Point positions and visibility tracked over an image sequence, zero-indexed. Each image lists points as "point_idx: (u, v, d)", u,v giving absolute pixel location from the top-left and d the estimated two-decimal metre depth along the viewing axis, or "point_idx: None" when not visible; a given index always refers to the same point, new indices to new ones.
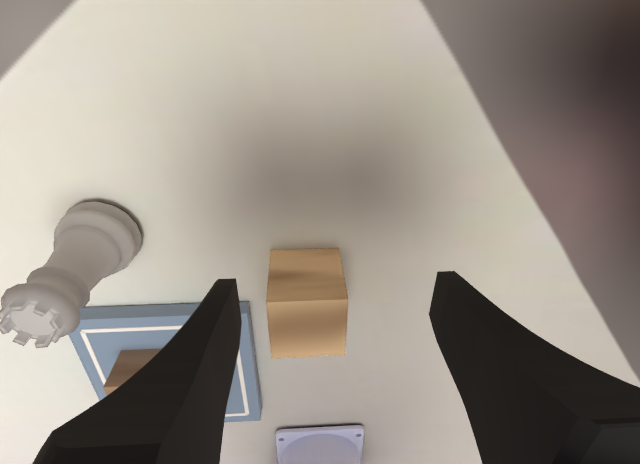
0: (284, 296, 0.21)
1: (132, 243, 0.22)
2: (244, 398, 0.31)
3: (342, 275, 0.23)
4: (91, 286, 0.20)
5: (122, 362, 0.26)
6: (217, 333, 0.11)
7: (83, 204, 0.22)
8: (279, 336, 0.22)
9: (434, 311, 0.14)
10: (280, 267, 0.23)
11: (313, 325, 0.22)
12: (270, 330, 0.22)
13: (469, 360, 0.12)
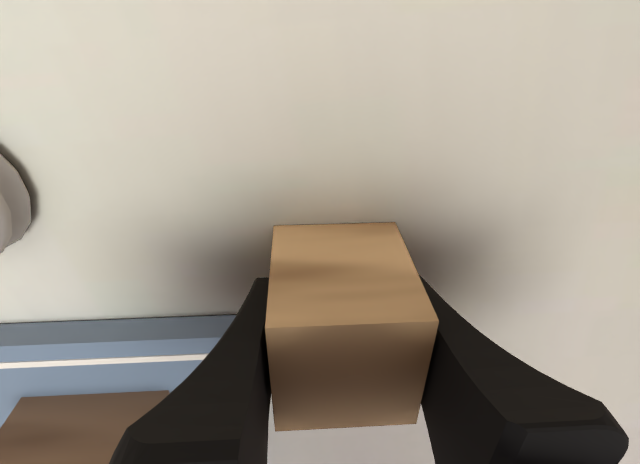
0: (303, 315, 0.10)
1: (1, 206, 0.11)
2: None
3: (414, 271, 0.12)
4: None
5: (17, 421, 0.15)
6: None
7: None
8: (291, 393, 0.11)
9: None
10: (291, 257, 0.12)
11: (360, 372, 0.11)
12: (273, 382, 0.11)
13: None
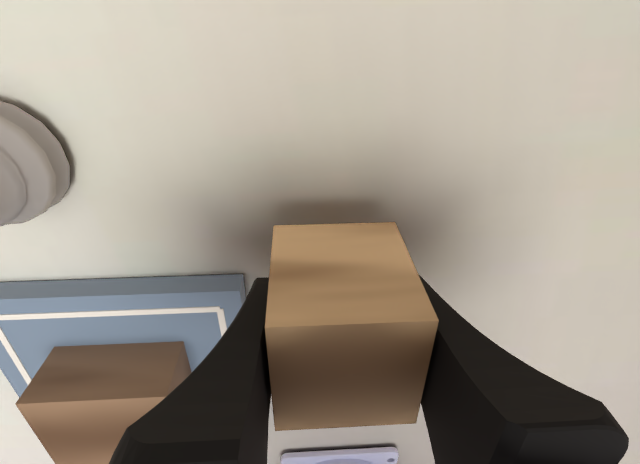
0: (303, 314, 0.10)
1: (48, 169, 0.13)
2: None
3: (414, 271, 0.12)
4: None
5: (53, 365, 0.17)
6: None
7: None
8: (290, 393, 0.11)
9: None
10: (291, 256, 0.12)
11: (360, 371, 0.11)
12: (273, 382, 0.11)
13: None
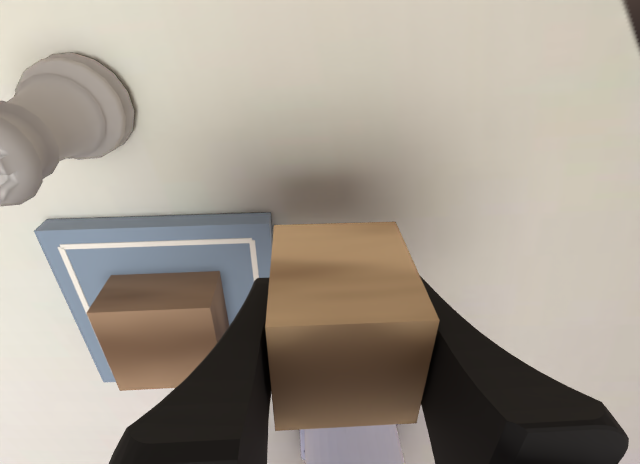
0: (303, 314, 0.10)
1: (121, 111, 0.17)
2: None
3: (415, 270, 0.12)
4: (62, 146, 0.14)
5: (112, 287, 0.21)
6: (265, 331, 0.11)
7: (55, 56, 0.16)
8: (291, 393, 0.11)
9: None
10: (291, 256, 0.12)
11: (360, 371, 0.11)
12: (274, 382, 0.11)
13: None
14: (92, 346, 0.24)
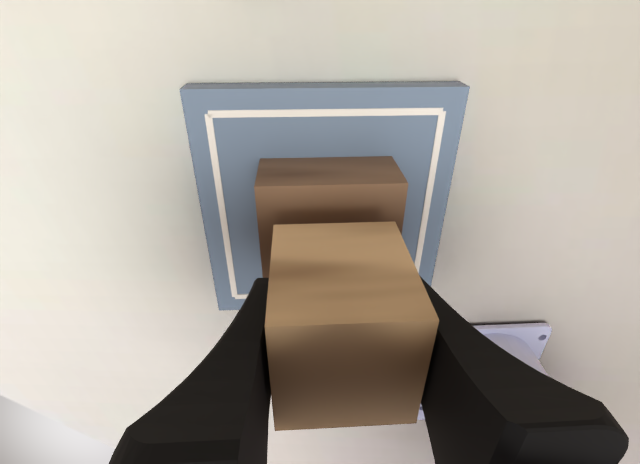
0: (303, 313, 0.10)
1: None
2: (416, 262, 0.21)
3: (414, 270, 0.12)
4: None
5: (269, 167, 0.16)
6: None
7: None
8: (291, 393, 0.11)
9: None
10: (291, 255, 0.12)
11: (360, 371, 0.11)
12: (273, 381, 0.11)
13: None
14: (216, 260, 0.20)
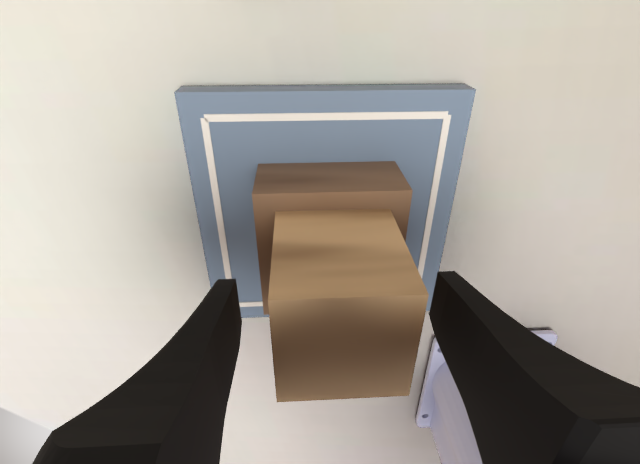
0: (303, 289, 0.11)
1: None
2: (419, 269, 0.20)
3: (407, 251, 0.12)
4: None
5: (268, 173, 0.16)
6: (217, 333, 0.11)
7: None
8: (291, 364, 0.12)
9: (434, 311, 0.14)
10: (292, 239, 0.13)
11: (356, 344, 0.11)
12: (275, 353, 0.11)
13: (469, 360, 0.12)
14: (213, 268, 0.20)
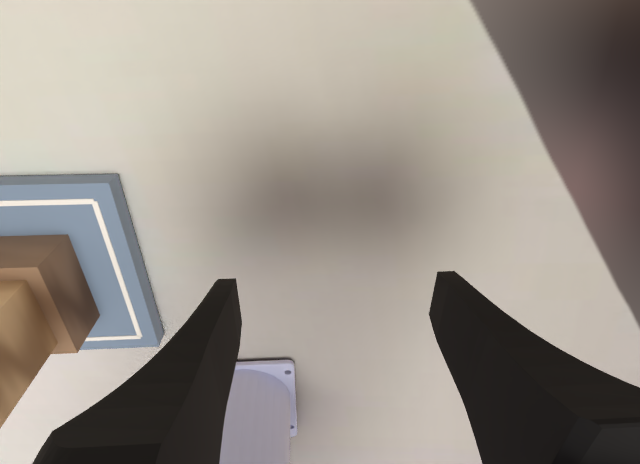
0: None
1: None
2: (132, 315, 0.24)
3: None
4: None
5: None
6: (217, 333, 0.11)
7: None
8: None
9: (434, 311, 0.14)
10: None
11: None
12: None
13: (469, 360, 0.12)
14: None
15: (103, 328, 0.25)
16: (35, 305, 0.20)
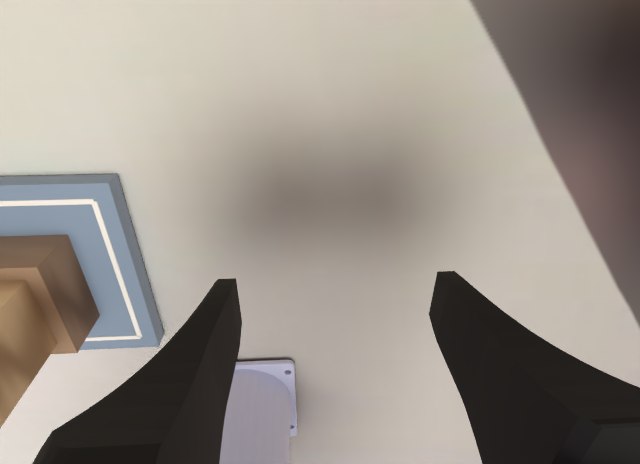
0: None
1: None
2: (132, 315, 0.24)
3: None
4: None
5: None
6: (217, 333, 0.11)
7: None
8: None
9: (434, 311, 0.14)
10: None
11: None
12: None
13: (469, 360, 0.12)
14: None
15: (103, 328, 0.25)
16: (35, 305, 0.20)
